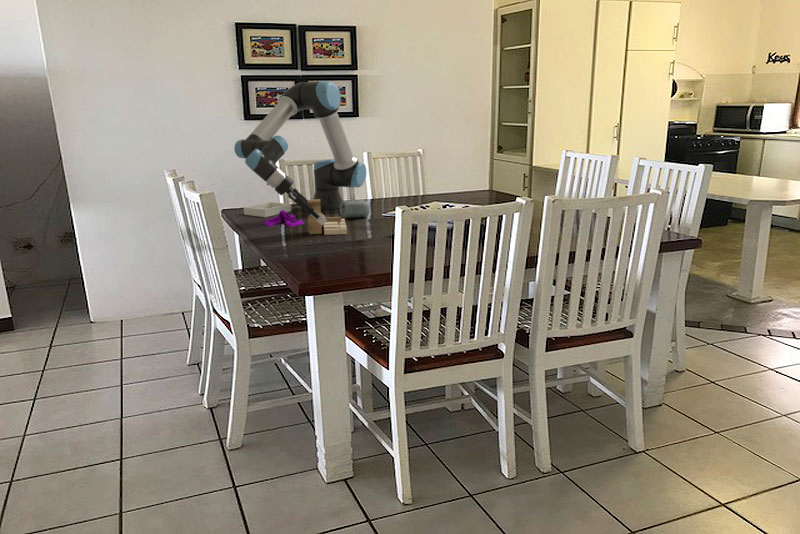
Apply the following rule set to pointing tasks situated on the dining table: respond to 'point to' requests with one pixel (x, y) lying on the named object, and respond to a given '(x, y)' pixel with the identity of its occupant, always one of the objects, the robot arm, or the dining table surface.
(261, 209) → the white shallow tray
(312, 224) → the tan angular block
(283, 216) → the cloth
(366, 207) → the spool
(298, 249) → the dining table surface
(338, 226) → the board
